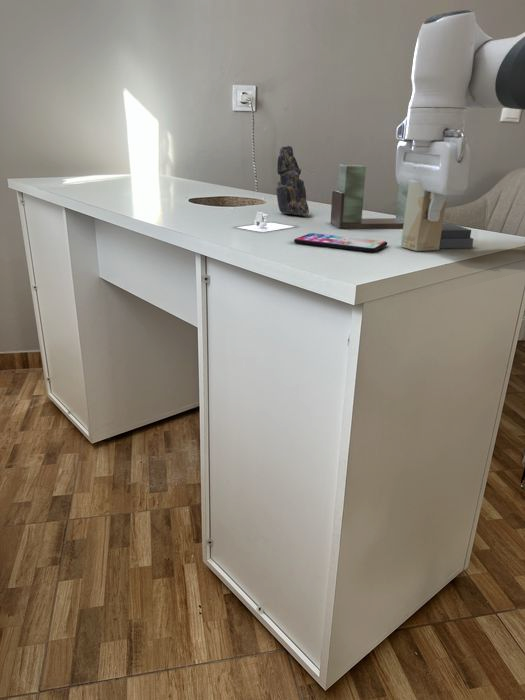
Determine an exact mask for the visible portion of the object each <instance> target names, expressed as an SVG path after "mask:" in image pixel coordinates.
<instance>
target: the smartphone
mask: <svg viewBox="0 0 525 700" xmlns="http://www.w3.org/2000/svg"><path fill="white" fill-rule="evenodd" d="M293 242H294V243H295V244H303V245H312V246H320V247H328V248H336V249H337V248H338V249H342V250H343V249H346V250H352V251H360V252H367V253H373V252H377V251H379V250H381V249H382V248H384V247H386V246H387V245H388V242H387V241H386V240H377V239H371V238H370V239H369V238H362V237H361V238H360V237H353V236H351V237H350V236H344V235H343V236H342V235H334V234H325V233H316V232H315V233H314V232H309V233H307V234H304V235H302V236H299V237H296V238H294V239H293Z"/></svg>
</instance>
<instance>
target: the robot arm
mask: <svg viewBox="0 0 525 700" xmlns="http://www.w3.org/2000/svg"><path fill="white" fill-rule="evenodd" d="M412 61H413V62H412V67H411V68H412V69H411V84H412V93H411V98H410V101H409V103H408V108H407V115H406V117H405V118H404V120H403V121H402V122H401V123H400V124H399V125H398V126H397V128H396V132H395V139H396V141H397V140H398V143H397V147H396V155H395V179H396V183H397V184H398V185H399V184H401V185H405V186H409V181H420V182H422V183H423V184H422V186H423V189H424V190H425V191H429V192H431V193H430V199H431V202H430V206H429V209H426V217H425V218H426V220H428V221H438V220H439V218H440V211H441V209H442V207H443V205H444V203H445V201H446V202H447V199H446V196H447V197H448V196H463V195H464V194H465V192H466V190H467V188H468V184H469V174H470V162H471V161H470V160H471V159H470V158H471V150H470V146H469V145H468V143H467V138H466V136H465V134H464V131H465V125H466V117H467V112H468V111H467V109H506V108H507V109H510V110H511V109H513V110H523V111H525V31H524V32H523V33H521V34H518V35H517V36H513V37H508V38H501V39H494V38H493V37H491V36H489V35H488V34H487V33H485V32H484V31H483V30H482V29H481V27H480V26H479V24H478V23H477V21H476V13H475V12H474V11H472V10H469V9H461V10H454V11H450V12H444V13H440V14H436V15H432V16H430V17H428V18H426V20H424V22H423V23H422V24H421V27H420V29H419V31H418V35H417V39H416V43H415V49H414V54H413V60H412Z"/></svg>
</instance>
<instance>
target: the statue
mask: <svg viewBox="0 0 525 700" xmlns="http://www.w3.org/2000/svg"><path fill="white" fill-rule="evenodd" d="M276 168H277V169H276V171H277V175H278V176H279V179H280V181H278V182H277V187H276V188H275V191H276V199H277V206H278V209H279V212H280V213H282V214H286V215H296V216H309V213H310V209H309V205H308V201H307V191H306V187H305V181H304V180H303V179H301V178H300V175H301V173H302V168H299V164H298V161H297V159H296V157H295V156H294V149H293V147H292V145H287V146H282V147H281V148H280V149H279V155H278V157H277V167H276Z"/></svg>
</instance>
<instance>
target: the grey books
mask: <svg viewBox="0 0 525 700" xmlns="http://www.w3.org/2000/svg"><path fill="white" fill-rule="evenodd" d="M471 235H472V229H469V228H466V227H463V226H461V225H458V224H455V223H452V222H443V226H442V232H441V239H440V245H439V249H472V248H473V244H474V238H473V237H471Z"/></svg>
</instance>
